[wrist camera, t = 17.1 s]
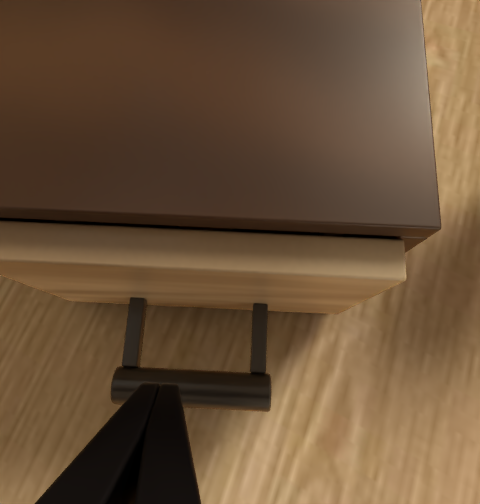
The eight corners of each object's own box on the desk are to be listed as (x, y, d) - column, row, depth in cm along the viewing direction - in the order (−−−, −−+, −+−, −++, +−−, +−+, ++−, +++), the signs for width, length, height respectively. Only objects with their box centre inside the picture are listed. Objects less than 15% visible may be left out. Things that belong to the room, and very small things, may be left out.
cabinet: (346, 292, 20) (442, 229, 10) (67, 279, 20) (-83, 204, 10) (340, 58, 23) (409, -143, 14) (105, 48, 23) (19, -159, 14)
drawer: (340, 410, 17) (418, 446, 10) (53, 395, 17) (-86, 420, 10) (334, 81, 22) (385, -67, 14) (105, 71, 22) (36, -81, 14)
